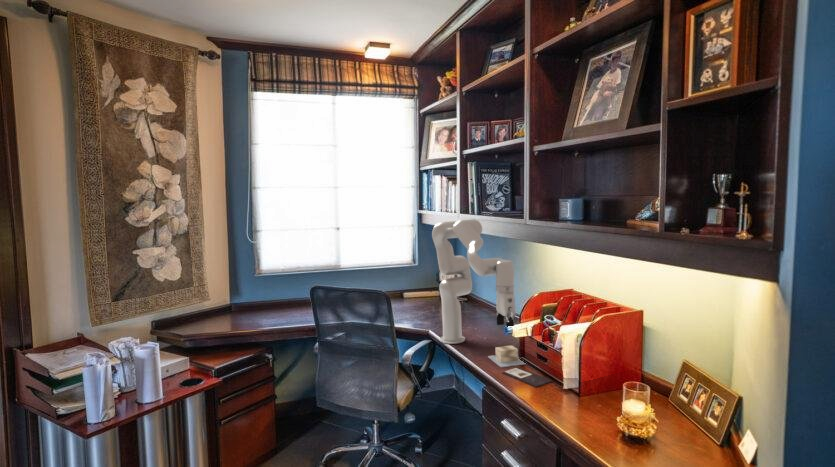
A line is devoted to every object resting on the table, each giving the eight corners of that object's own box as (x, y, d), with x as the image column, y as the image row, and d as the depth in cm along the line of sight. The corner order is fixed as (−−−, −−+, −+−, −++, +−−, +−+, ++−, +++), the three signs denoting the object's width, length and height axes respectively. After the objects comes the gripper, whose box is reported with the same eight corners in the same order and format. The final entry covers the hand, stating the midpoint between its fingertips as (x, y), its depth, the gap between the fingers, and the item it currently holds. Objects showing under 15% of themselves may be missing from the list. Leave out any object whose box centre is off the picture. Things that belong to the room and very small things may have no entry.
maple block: (512, 356, 201) (512, 345, 200) (518, 360, 195) (517, 349, 195) (495, 358, 199) (495, 347, 199) (500, 362, 194) (500, 351, 193)
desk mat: (487, 356, 202) (487, 356, 202) (512, 353, 205) (512, 353, 205) (500, 367, 189) (500, 366, 189) (527, 364, 192) (527, 363, 192)
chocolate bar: (536, 386, 167) (502, 372, 182) (536, 389, 167) (502, 374, 182) (552, 380, 172) (518, 367, 187) (552, 382, 172) (518, 369, 187)
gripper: (522, 292, 188) (522, 332, 189) (504, 284, 204) (504, 321, 206) (505, 293, 186) (505, 334, 187) (488, 285, 203) (489, 323, 204)
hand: (505, 327), depth 197 cm, fingers open, 9 cm apart
